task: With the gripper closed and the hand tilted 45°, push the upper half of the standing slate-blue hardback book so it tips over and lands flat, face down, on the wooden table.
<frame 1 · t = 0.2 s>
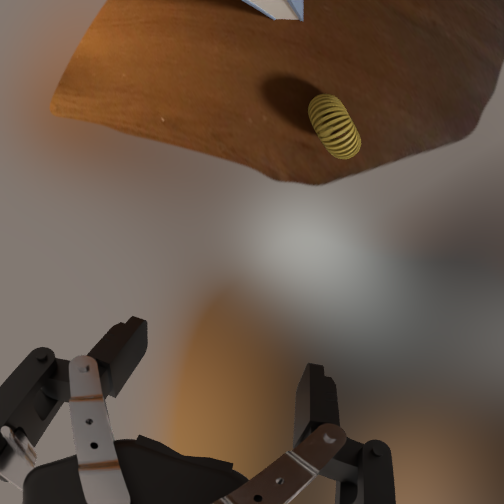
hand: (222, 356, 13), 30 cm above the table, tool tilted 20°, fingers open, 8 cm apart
sculpture: (333, 118, 33), on the table
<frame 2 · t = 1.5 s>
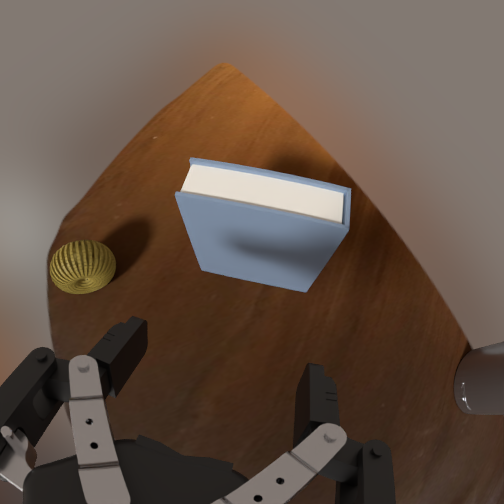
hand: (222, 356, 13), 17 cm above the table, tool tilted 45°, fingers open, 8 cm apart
sculpture: (98, 280, 33), on the table
book: (256, 267, 34), on the table
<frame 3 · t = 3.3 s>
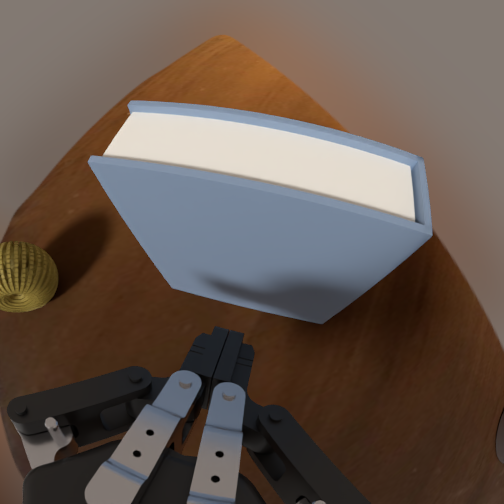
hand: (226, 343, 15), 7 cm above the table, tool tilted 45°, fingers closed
sculpture: (42, 294, 22), on the table
book: (251, 285, 23), on the table
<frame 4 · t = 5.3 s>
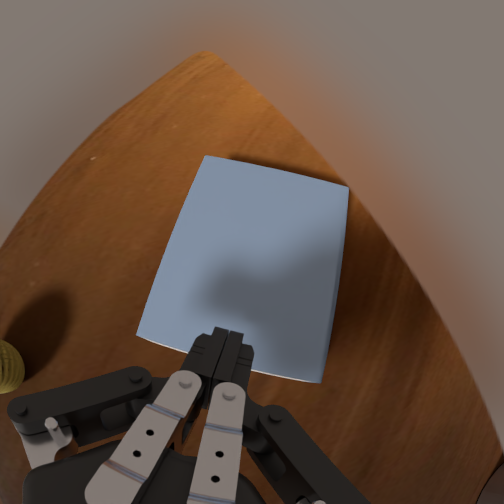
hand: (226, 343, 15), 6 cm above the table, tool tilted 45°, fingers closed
sculpture: (13, 372, 18), on the table
book: (227, 363, 19), point 1 cm above the table, tilted 90°
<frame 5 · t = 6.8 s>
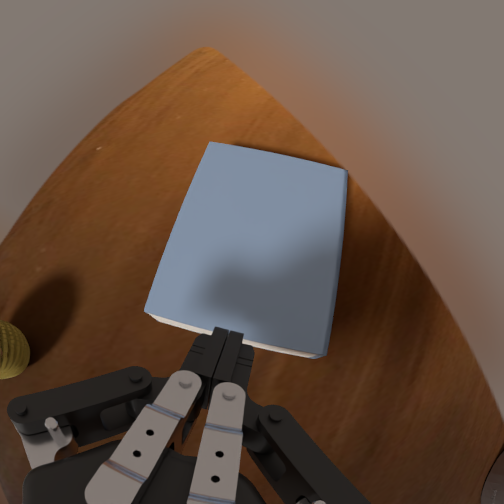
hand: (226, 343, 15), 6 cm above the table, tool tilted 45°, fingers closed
sculpture: (18, 358, 19), on the table
book: (233, 339, 19), point 1 cm above the table, tilted 90°
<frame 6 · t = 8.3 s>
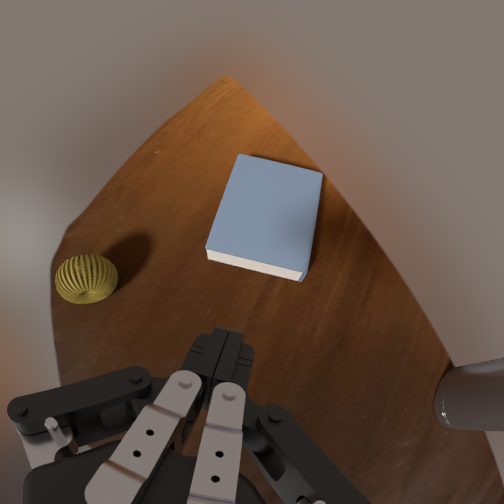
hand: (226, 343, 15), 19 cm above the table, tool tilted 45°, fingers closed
sculpture: (100, 290, 34), on the table
book: (254, 265, 35), point 1 cm above the table, tilted 90°
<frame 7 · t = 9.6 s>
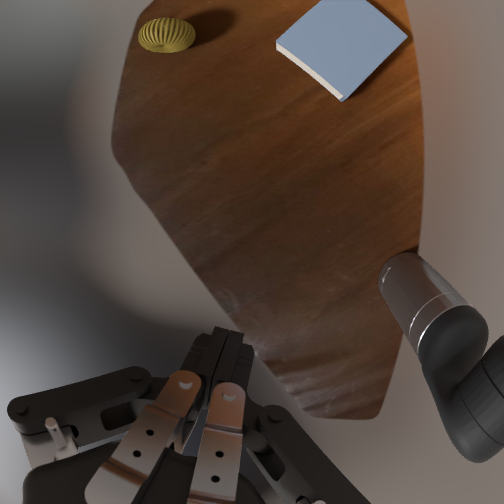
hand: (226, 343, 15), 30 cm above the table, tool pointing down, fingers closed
sculpture: (176, 44, 35), on the table
book: (310, 71, 34), point 1 cm above the table, tilted 90°
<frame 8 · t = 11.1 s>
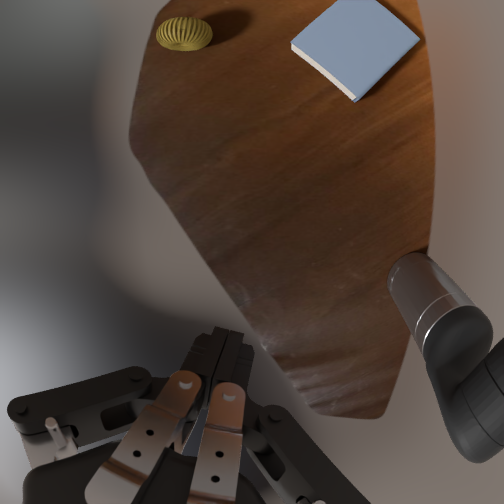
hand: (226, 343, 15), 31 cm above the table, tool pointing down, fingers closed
sculpture: (193, 42, 36), on the table
book: (324, 72, 34), point 1 cm above the table, tilted 90°
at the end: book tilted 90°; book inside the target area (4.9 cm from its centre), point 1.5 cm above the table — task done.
